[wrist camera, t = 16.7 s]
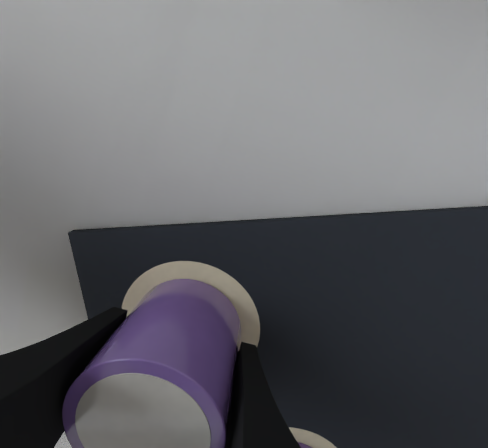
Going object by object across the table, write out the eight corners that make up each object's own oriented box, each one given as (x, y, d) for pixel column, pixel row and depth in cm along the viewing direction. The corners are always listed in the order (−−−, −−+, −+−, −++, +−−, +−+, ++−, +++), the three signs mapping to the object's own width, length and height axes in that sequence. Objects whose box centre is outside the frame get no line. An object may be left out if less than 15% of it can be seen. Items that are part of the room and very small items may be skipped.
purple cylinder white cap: (236, 275, 13) (216, 358, 8) (245, 372, 14) (233, 497, 9) (126, 280, 13) (42, 361, 8) (144, 373, 15) (80, 492, 10)
